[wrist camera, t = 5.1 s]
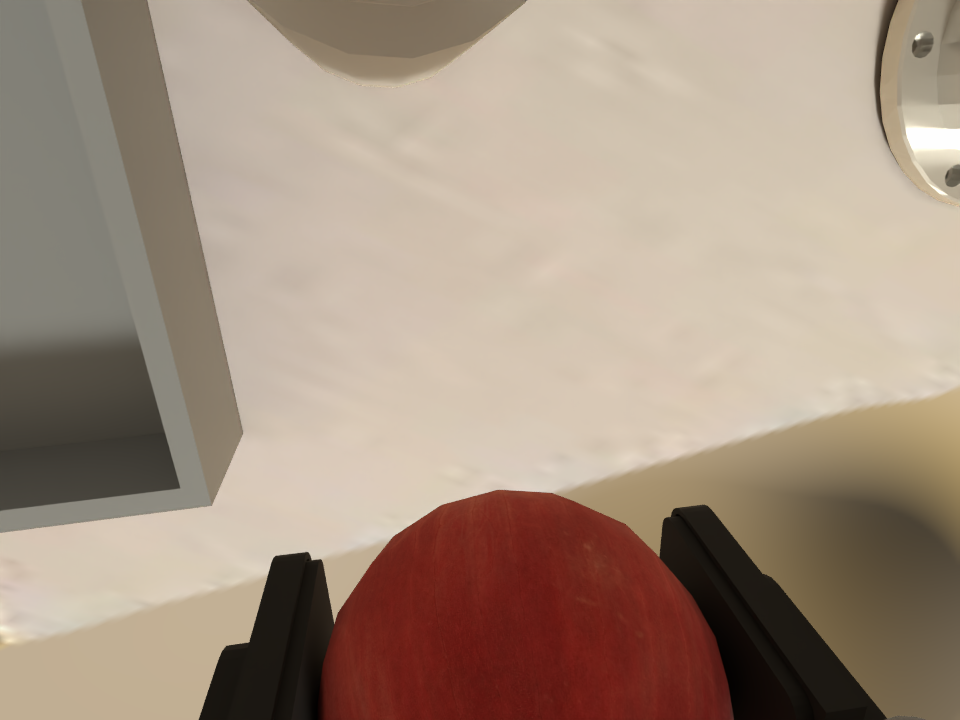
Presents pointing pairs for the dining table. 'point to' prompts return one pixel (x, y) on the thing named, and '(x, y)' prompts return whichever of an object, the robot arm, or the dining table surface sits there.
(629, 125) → the dining table surface
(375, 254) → the dining table surface
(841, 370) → the dining table surface
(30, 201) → the tote
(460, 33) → the can
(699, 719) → the onion
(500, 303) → the dining table surface
